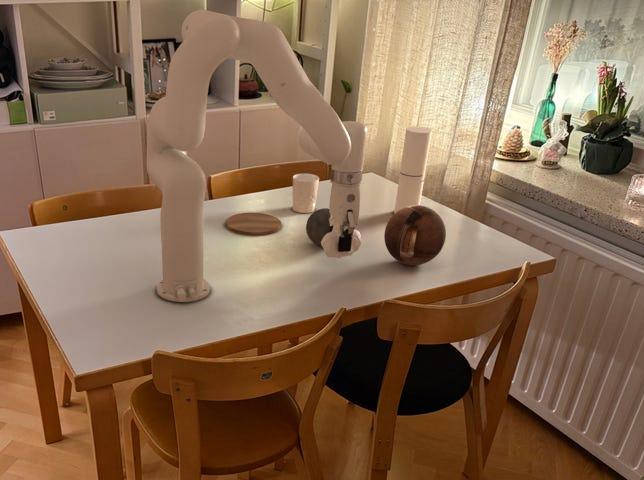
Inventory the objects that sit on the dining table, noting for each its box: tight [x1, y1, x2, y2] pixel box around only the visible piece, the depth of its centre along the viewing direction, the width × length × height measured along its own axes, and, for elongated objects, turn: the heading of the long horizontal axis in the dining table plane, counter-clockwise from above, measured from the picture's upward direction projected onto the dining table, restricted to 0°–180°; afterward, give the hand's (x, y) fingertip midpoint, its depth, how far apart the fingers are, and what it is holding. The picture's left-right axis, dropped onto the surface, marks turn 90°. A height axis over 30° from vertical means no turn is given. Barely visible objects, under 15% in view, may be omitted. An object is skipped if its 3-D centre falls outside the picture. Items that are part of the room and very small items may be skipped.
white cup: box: [291, 173, 320, 214], centre depth 211 cm, size 8×8×10 cm
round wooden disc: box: [225, 212, 282, 237], centre depth 202 cm, size 16×16×1 cm
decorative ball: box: [305, 207, 331, 247], centre depth 188 cm, size 10×10×10 cm
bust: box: [321, 215, 362, 259], centre depth 176 cm, size 12×8×11 cm
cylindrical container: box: [393, 126, 433, 215], centre depth 205 cm, size 7×7×25 cm
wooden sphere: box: [383, 204, 447, 266], centre depth 176 cm, size 15×15×15 cm
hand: (339, 244), depth 176 cm, fingers closed on bust, 7 cm apart
